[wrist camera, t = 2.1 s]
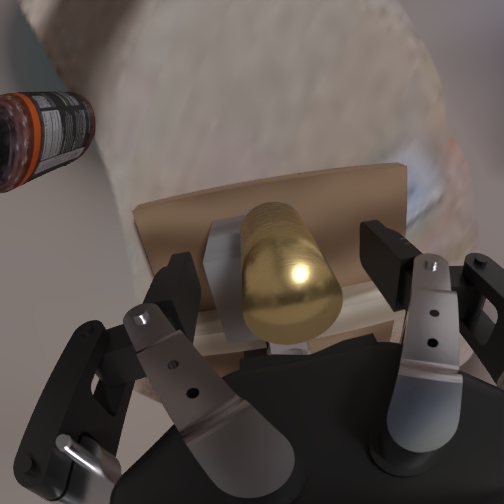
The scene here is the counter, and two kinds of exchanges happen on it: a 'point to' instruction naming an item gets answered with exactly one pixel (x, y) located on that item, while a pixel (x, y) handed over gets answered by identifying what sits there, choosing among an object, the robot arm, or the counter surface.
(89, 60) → the counter surface
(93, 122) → the supplement bottle
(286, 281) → the swing bar
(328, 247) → the lock base
